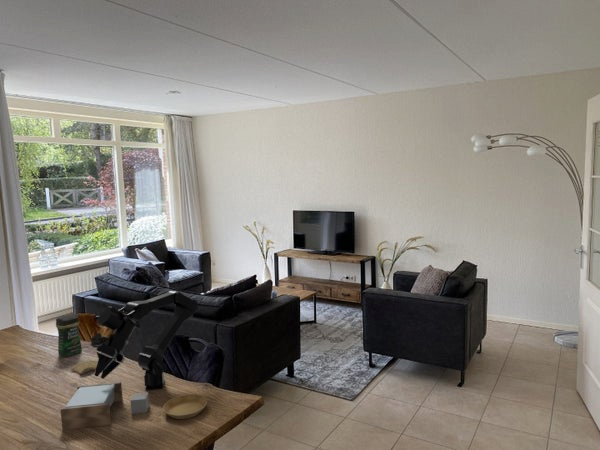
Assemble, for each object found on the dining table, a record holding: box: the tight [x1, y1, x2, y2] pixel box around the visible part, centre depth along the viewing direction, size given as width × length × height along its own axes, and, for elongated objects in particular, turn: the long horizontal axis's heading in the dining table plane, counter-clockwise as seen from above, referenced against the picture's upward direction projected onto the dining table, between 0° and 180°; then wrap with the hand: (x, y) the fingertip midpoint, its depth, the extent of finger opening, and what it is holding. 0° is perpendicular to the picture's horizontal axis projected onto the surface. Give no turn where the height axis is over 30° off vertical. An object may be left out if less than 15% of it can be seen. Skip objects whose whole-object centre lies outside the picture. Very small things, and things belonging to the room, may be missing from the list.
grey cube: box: [130, 391, 150, 415], centre depth 163 cm, size 5×5×5 cm
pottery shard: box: [70, 360, 98, 375], centre depth 199 cm, size 11×4×10 cm
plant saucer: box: [162, 393, 208, 420], centre depth 161 cm, size 15×15×3 cm
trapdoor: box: [64, 384, 115, 408], centre depth 161 cm, size 12×14×5 cm
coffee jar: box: [55, 313, 83, 358], centre depth 217 cm, size 10×8×19 cm
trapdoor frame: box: [60, 381, 124, 431], centre depth 161 cm, size 15×17×7 cm
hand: (98, 377), depth 162 cm, fingers open, 9 cm apart
